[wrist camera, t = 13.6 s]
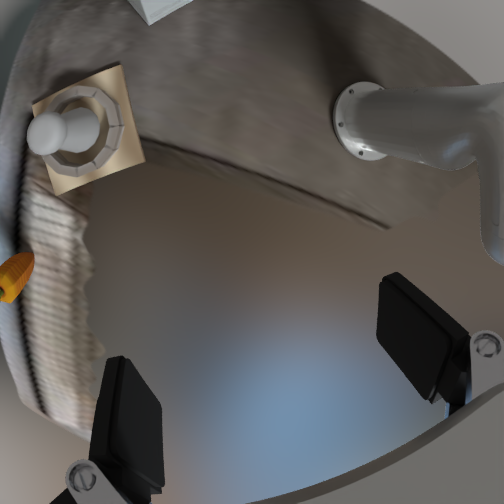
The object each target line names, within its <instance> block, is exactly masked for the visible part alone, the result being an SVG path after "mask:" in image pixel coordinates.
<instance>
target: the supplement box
mask: <svg viewBox="0 0 504 504" xmlns="http://www.w3.org/2000/svg"><path fill="white" fill-rule="evenodd" d="M191 1H193V0H128V2H129V3H130V4H131V5H132V6H133V8H134V9H135V10H136V11H137V12H138V13H139V15H140V16H141V17H142V18H143V19H144V21H145V22H146V23H147V24H148V25H151V24H153V23H154V22H156V21H158V20H159V19H161V18H163V17H164V16H166V15H168V14H169V13H171V12H173V11H175V10H177V9H178V8H180V7H182V6H184V5H186V4H188V3H189V2H191Z"/></svg>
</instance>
